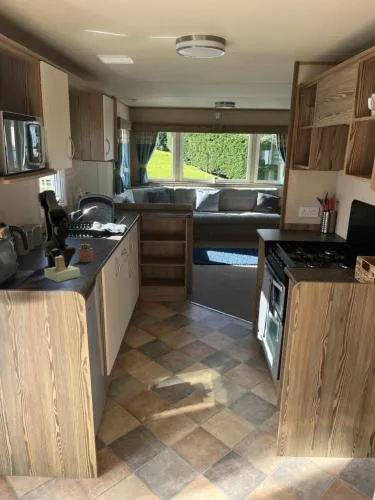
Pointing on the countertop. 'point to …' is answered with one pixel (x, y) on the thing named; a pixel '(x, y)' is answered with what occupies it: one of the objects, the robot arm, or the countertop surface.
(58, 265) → the peg
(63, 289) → the countertop surface
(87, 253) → the lighter
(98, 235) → the countertop surface
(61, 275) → the well holder
